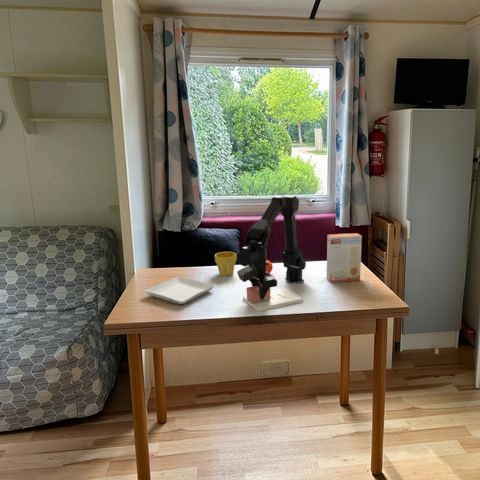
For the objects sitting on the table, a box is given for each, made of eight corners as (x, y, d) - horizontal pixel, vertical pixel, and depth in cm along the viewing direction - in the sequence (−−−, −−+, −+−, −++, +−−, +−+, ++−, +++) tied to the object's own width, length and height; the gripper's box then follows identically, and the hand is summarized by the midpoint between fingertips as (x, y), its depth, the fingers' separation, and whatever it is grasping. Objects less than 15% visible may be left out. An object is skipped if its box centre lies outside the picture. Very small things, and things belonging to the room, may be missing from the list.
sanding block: (264, 296, 160) (264, 284, 159) (270, 299, 156) (270, 287, 155) (246, 299, 157) (246, 287, 156) (252, 303, 153) (252, 291, 152)
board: (285, 290, 169) (285, 288, 169) (302, 301, 158) (302, 298, 157) (242, 299, 161) (242, 296, 161) (257, 311, 150) (257, 308, 149)
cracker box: (355, 276, 184) (357, 232, 179) (360, 281, 179) (362, 235, 173) (325, 278, 183) (327, 233, 178) (329, 282, 178) (331, 236, 173)
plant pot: (211, 276, 189) (210, 256, 187) (220, 269, 198) (220, 250, 196) (231, 278, 185) (231, 258, 183) (240, 271, 194) (239, 252, 192)
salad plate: (216, 291, 171) (215, 284, 170) (182, 309, 154) (182, 301, 153) (179, 282, 182) (178, 275, 181) (144, 298, 165) (143, 290, 164)
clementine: (259, 277, 186) (259, 263, 184) (253, 273, 192) (253, 259, 190) (275, 275, 188) (275, 260, 187) (268, 271, 195) (268, 257, 193)
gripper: (229, 256, 158) (230, 293, 161) (250, 269, 141) (251, 310, 145) (255, 252, 162) (255, 288, 166) (278, 264, 146) (277, 304, 149)
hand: (259, 297), depth 156 cm, fingers closed on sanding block, 4 cm apart
